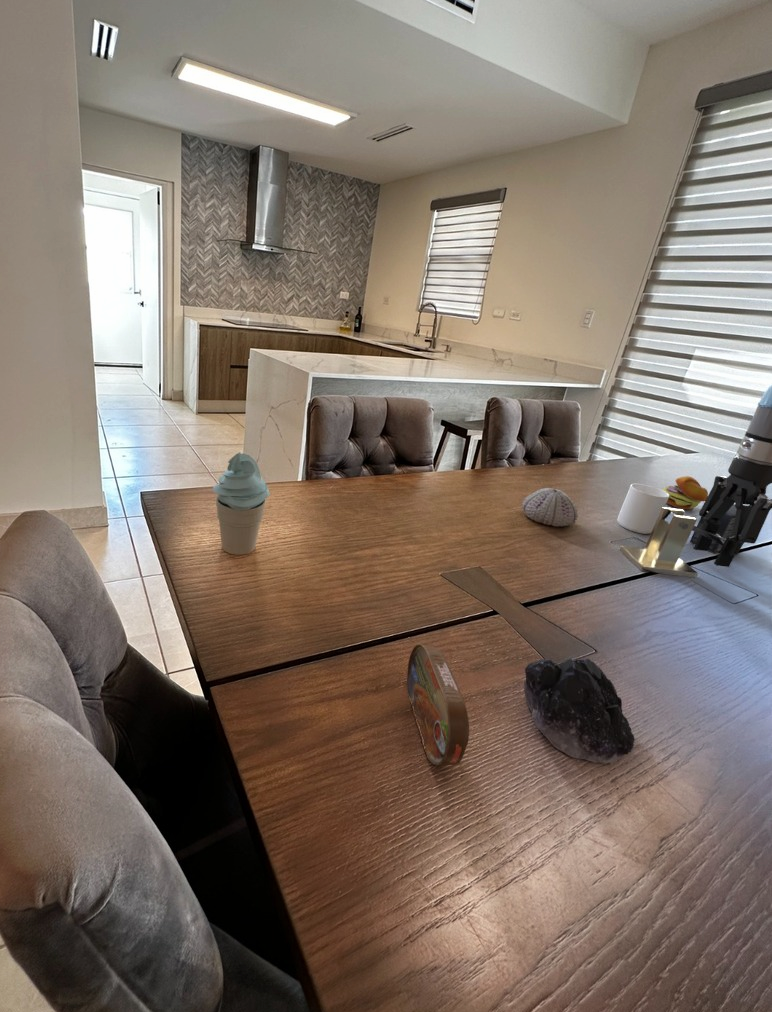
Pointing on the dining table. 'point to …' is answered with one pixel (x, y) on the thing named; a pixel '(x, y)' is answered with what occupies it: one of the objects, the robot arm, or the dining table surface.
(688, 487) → the cheeseburger
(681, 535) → the bracket
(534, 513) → the sea urchin shell
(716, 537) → the lever
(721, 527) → the small box
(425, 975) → the dining table surface
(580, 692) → the crystal cluster
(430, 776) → the dining table surface
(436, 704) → the tin
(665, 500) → the mug
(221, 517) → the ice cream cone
